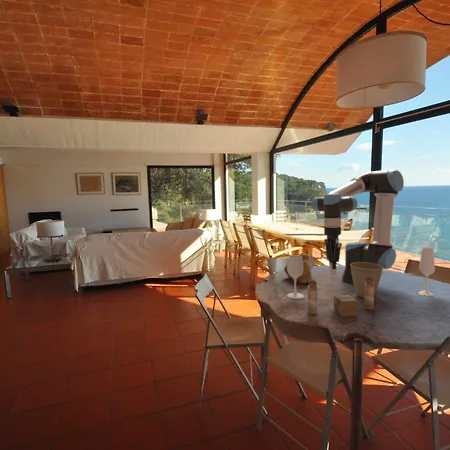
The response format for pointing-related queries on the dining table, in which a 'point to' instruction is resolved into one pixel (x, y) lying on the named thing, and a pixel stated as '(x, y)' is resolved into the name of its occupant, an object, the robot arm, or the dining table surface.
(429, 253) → the champagne flute
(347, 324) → the dining table surface
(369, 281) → the oak mill
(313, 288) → the oak mill
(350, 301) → the tan wooden cube
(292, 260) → the wineglass
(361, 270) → the plant pot
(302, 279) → the rough brown rock
